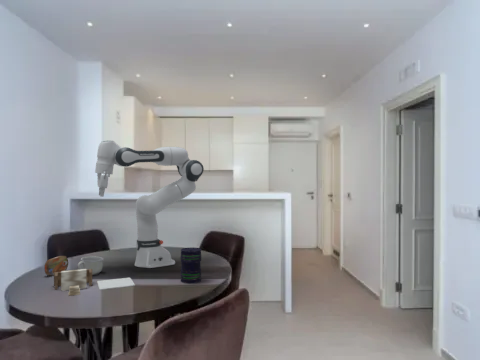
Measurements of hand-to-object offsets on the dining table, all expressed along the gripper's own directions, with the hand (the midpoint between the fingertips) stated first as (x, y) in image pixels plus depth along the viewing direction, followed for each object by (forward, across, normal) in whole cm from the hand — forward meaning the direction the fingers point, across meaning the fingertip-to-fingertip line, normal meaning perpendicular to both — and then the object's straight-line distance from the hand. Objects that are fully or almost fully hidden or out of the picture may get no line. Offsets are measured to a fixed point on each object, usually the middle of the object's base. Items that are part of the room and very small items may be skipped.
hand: (101, 196), depth 194 cm
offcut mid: (+39, -41, +8) cm, 57 cm away
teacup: (+40, -9, +2) cm, 41 cm away
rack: (+40, -27, +9) cm, 49 cm away
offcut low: (+40, -41, +8) cm, 58 cm away
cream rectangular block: (+40, -32, +9) cm, 52 cm away
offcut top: (+38, -41, +9) cm, 56 cm away
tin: (+42, 0, +17) cm, 45 cm away
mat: (+38, -32, -9) cm, 51 cm away
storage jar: (+34, -41, -42) cm, 68 cm away
